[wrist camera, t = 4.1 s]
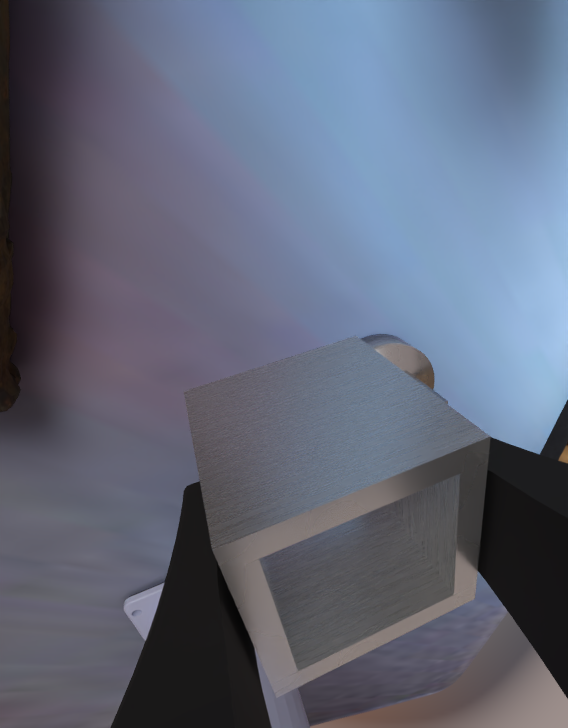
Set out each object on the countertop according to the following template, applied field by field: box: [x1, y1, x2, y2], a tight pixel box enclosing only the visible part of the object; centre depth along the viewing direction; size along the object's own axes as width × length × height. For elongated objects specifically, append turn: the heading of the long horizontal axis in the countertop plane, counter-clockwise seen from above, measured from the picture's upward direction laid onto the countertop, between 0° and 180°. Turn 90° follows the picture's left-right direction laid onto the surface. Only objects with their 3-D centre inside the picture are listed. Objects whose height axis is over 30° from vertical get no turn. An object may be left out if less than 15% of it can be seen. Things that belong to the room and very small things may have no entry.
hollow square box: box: [184, 336, 491, 698], centre depth 10 cm, size 5×5×5 cm
